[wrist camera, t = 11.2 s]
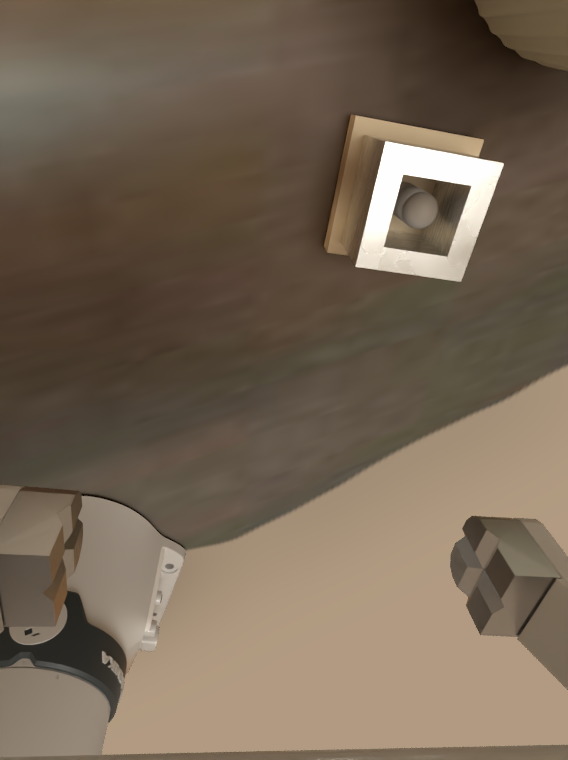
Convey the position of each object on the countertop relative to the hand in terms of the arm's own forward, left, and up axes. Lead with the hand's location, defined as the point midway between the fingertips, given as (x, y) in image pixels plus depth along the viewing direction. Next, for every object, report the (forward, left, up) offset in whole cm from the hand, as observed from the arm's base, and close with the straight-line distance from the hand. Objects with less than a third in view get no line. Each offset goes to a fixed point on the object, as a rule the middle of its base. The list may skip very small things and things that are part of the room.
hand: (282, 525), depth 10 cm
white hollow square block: (+4, -9, -24) cm, 26 cm away
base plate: (+4, -9, -25) cm, 27 cm away
